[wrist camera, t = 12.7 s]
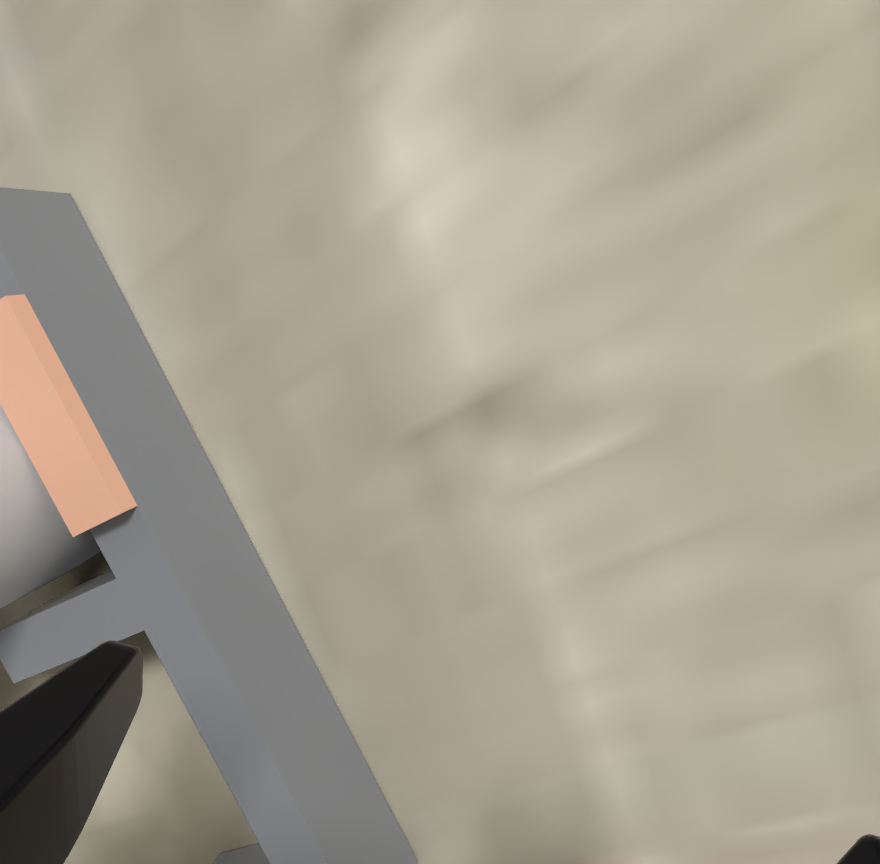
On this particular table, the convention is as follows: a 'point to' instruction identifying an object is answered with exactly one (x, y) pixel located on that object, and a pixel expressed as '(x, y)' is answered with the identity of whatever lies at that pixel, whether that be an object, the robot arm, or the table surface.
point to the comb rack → (167, 551)
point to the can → (31, 525)
